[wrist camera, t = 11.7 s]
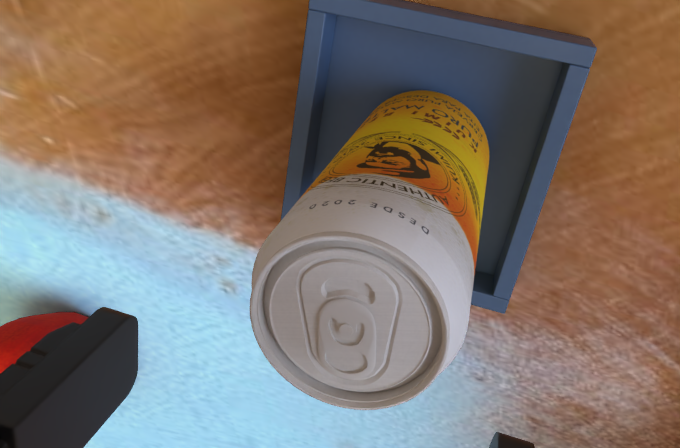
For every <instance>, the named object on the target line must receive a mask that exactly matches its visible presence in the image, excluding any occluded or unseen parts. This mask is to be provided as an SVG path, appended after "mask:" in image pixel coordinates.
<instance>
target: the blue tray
mask: <svg viewBox="0 0 680 448" xmlns="http://www.w3.org/2000/svg"><path fill="white" fill-rule="evenodd" d="M596 50H597V48H596V46H595V45H594V44H593V42H592V41H591V40H590V39H589V38H586V37H581V36H576V35H571V34H566V33H561V32H556V31H551V30H546V29H542V28H537V27H532V26H527V25H522V24H517V23H512V22H507V21H502V20H497V19H492V18H487V17H482V16H478V15H473V14H468V13H463V12H458V11H453V10H448V9H443V8H438V7H433V6H428V5H423V4H418V3H414V2H409V1H404V0H309V10H308V15H307V23H306V31H305V38H304V46H303V54H302V61H301V69H300V77H299V84H298V92H297V100H296V107H295V115H294V123H293V130H292V138H291V146H290V153H289V161H288V169H287V177H286V184H285V192H284V200H283V207H282V215H281V220H282V219H283V218H284V217H285V215H286V214H287V213H288V212H289V211H290V209H291V208H292V207H293V206H294V205H295V203H296V202H297V201H298V200H299V199H300V197H301V196H302V195H303V194H304V193H305V192H306V190H307V189H308V188H309V187H310V186H311V184H312V183H313V182H314V181H315V180H316V178H317V177H318V176H319V175H320V174H321V172H322V171H323V170H324V169H325V168H326V167H327V165H328V164H329V163H330V162H331V161H332V159H333V158H334V157H335V156H336V155H337V153H338V152H339V151H340V150H341V149H342V147H343V146H344V145H345V144H346V143H347V141H348V140H349V139H350V138H351V137H352V136H353V134H354V133H355V132H356V131H357V130H358V128H359V127H360V126H361V125H362V124H363V122H364V121H365V120H366V119H367V118H368V116H369V115H370V114H371V113H372V112H373V111H374V110H375V109H376V108H377V107H378V106H379V105H380V104H381V103H383V102H384V101H386V100H387V99H389V98H391V97H393V96H395V95H398V94H401V93H404V92H409V91H416V90H427V91H435V92H439V93H442V94H445V95H448V96H450V97H452V98H454V99H456V100H458V101H459V102H461V103H462V104H464V105H465V106H466V107H467V108H468V109H470V111H471V112H472V113H473V114H474V115H475V116H476V117H477V119H478V120H479V122H480V123H481V125H482V127H483V129H484V131H485V134H486V137H487V140H488V145H489V166H488V174H487V182H486V189H485V197H484V205H483V213H482V221H481V228H480V236H479V244H478V252H477V260H476V267H475V275H474V283H473V291H472V299H471V305H475V306H478V307H482V308H485V309H489V310H492V311H496V312H500V313H503V314H504V313H505V311H506V308H507V306H508V303H509V299H510V297H511V294H512V291H513V288H514V285H515V283H516V280H517V277H518V274H519V271H520V268H521V265H522V262H523V260H524V257H525V254H526V251H527V248H528V245H529V242H530V240H531V237H532V234H533V231H534V228H535V225H536V222H537V219H538V217H539V214H540V211H541V208H542V205H543V202H544V199H545V197H546V194H547V191H548V188H549V185H550V182H551V179H552V176H553V174H554V171H555V168H556V165H557V162H558V159H559V156H560V153H561V151H562V148H563V145H564V142H565V139H566V136H567V133H568V131H569V128H570V125H571V122H572V119H573V116H574V113H575V110H576V108H577V105H578V102H579V99H580V96H581V93H582V90H583V88H584V85H585V82H586V79H587V76H588V73H589V70H590V69H589V68H590V67H591V65H592V62H593V59H594V56H595V53H596Z"/></svg>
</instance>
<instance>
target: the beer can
mask: <svg viewBox="0 0 680 448" xmlns="http://www.w3.org/2000/svg"><path fill="white" fill-rule="evenodd" d="M488 166H489V145H488V140H487V137H486V134H485V131H484V129H483V127H482V125H481V123H480V122H479V120H478V119H477V117H476V116H475V115H474V114H473V113H472V112H471V111H470V109H468V108H467V107H466V106H465V105H464V104H462V103H461V102H459V101H458V100H456V99H454V98H452V97H450V96H448V95H445V94H442V93H439V92H435V91H427V90H416V91H409V92H404V93H401V94H398V95H395V96H393V97H391V98H389V99H387V100H386V101H384V102H383V103H381V104H380V105H379V106H378V107H377V108H376V109H375V110H374V111H373V112H372V113H371V114H370V115H369V116H368V118H367V119H366V120H365V121H364V122H363V124H362V125H361V126H360V127H359V128H358V130H357V131H356V132H355V133H354V134H353V136H352V137H351V138H350V139H349V140H348V141H347V143H346V144H345V145H344V146H343V147H342V149H341V150H340V151H339V152H338V153H337V155H336V156H335V157H334V158H333V159H332V161H331V162H330V163H329V164H328V165H327V167H326V168H325V169H324V170H323V171H322V172H321V174H320V175H319V176H318V177H317V178H316V180H315V181H314V182H313V183H312V184H311V186H310V187H309V188H308V189H307V190H306V192H305V193H304V194H303V195H302V196H301V197H300V199H299V200H298V201H297V202H296V203H295V205H294V206H293V207H292V208H291V209H290V211H289V212H288V213H287V214H286V215H285V217H284V218H283V219H282V220H281V221H280V223H279V224H278V225H277V226H276V227H275V228H274V230H273V231H272V232H271V233H270V234H269V236H268V237H267V239H266V240H265V241H264V243H263V244H262V246H261V248H260V250H259V252H258V254H257V257H256V260H255V263H254V268H253V273H252V293H251V298H250V319H251V324H252V328H253V332H254V335H255V338H256V340H257V342H258V344H259V347H260V348H261V350H262V352H263V354H264V355H265V357H266V358H267V359H268V361H269V362H270V364H271V365H272V366H273V367H274V368H275V369H276V371H277V372H278V373H279V374H280V375H281V376H283V377H284V378H285V379H286V380H287V381H288V382H290V383H291V384H292V385H293V386H295V387H296V388H298V389H299V390H301V391H302V392H304V393H306V394H308V395H309V396H311V397H313V398H316V399H318V400H320V401H322V402H325V403H328V404H331V405H334V406H339V407H343V408H349V409H357V410H375V409H383V408H388V407H392V406H396V405H399V404H402V403H404V402H407V401H409V400H410V399H412V398H414V397H416V396H417V395H419V394H420V393H422V392H423V391H424V390H425V389H426V388H427V387H428V386H430V385H431V383H432V382H433V381H434V380H435V378H436V377H437V376H438V375H439V374H440V373H441V372H443V371H444V370H445V369H446V368H447V367H448V366H449V365H450V363H451V362H452V361H453V360H454V358H455V357H456V355H457V354H458V352H459V350H460V349H461V347H462V344H463V342H464V339H465V336H466V332H467V329H468V322H469V314H470V306H471V299H472V291H473V283H474V275H475V267H476V260H477V252H478V244H479V236H480V228H481V221H482V213H483V205H484V197H485V189H486V182H487V174H488Z"/></svg>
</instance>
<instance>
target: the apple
mask: <svg viewBox="0 0 680 448" xmlns="http://www.w3.org/2000/svg"><path fill="white" fill-rule="evenodd" d="M88 318H89V317H87V316H84V315H81V314H78V313H75V312H56V313H49V314H41V315H33V316H28V317H23V318H19V319H17V320H14V321H11V322H8V323H6V324H4V325H2V326H1V327H0V374H1V373H2V372H3V371H4V370H5V369H6V368H8V367H9V366H10V365H11V364H12V363H13V364H15V363H16V360H17V359H18V358H19V357H21V356H22V355H23V354H24V353H25V352H27V351H30V350H31V347H33V346H34V345H35V344H36V343H37V342H38V341H40V340H41V339H42V338H43V337H44V336H46V335H47V334H48V333H49V332H52V331H54V330H56V329H58V328H61V327H63V326H65V325H67V324H70V323H72V322H75V323H78V324H82V323H83V322H84V321H85V320H86V319H88Z"/></svg>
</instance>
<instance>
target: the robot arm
mask: <svg viewBox="0 0 680 448" xmlns="http://www.w3.org/2000/svg"><path fill="white" fill-rule="evenodd" d="M137 371H138V321H137V318H136V317H134V316H132V315H128V314H125V313H122V312H119V311H116V310H112V309H109V308H106V307H102V308H100V309H98V310H97V311H96V312H94V313H93V314H92V315H91V316H90V317H89V318H88V319H86V320H85V321H84V322H83V323H82V324H78V323H75V322H72V323H70V324H67V325H65V326H63V327H61V328H58V329H56V330H54V331H52V332H49V333H48V334H47V335H46V336H44V337H43V338H42V339H41V340H40V341H38V342H37V343H36V344H35V345H34V346H33V347H31V350H30V351H27V352H25V353H24V354H23V355H22V356H21V357H19V358H18V359H17V360H16V363H15V364H13V363H12V364H11V365H10V366H9V367H8V368H6V369H5V370H4V371H3V372H2V373H1V374H0V448H83V447H84V446H85V445H86V444H87V443H88V441H89V440H90V439H91V438H92V437H93V436H94V434H95V433H96V432H97V431H98V430H99V429H100V427H101V426H102V425H103V424H104V423H105V421H106V420H107V419H108V418H109V417H110V416H111V414H112V413H113V412H114V411H115V410H116V409H117V407H118V406H119V405H120V404H121V403H122V402H123V400H124V399H125V398H126V397H127V395H128V394H129V392H130V391H131V389H132V387H133V385H134V382H135V379H136V376H137ZM489 448H535V447H534V444H533V443H531V442H528V441H525V440H521V439H518V438H515V437H512V436H509V435H506V434H502V433H499V432H496V433H495V435H494V437H493V439H492V442H491V444H490V447H489Z"/></svg>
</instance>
